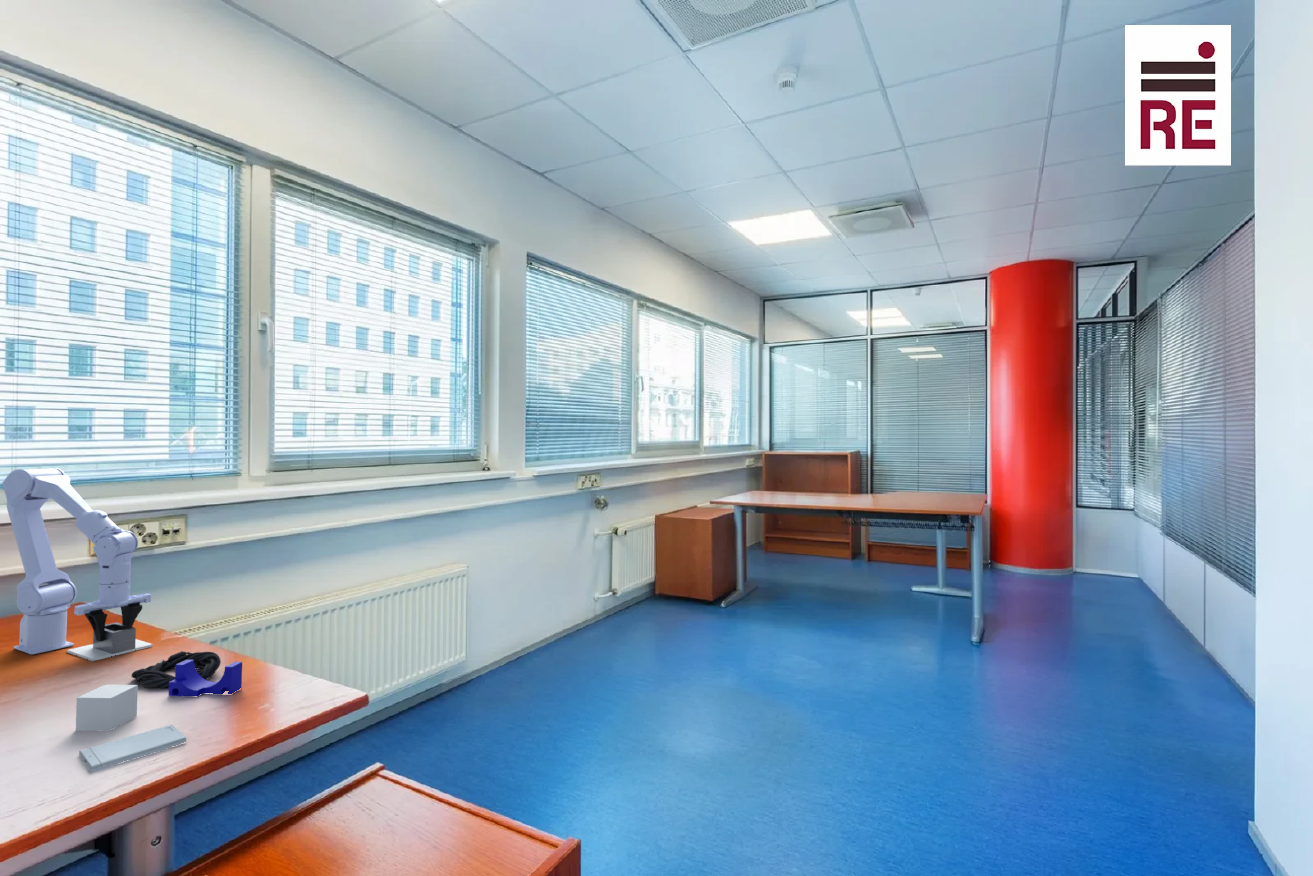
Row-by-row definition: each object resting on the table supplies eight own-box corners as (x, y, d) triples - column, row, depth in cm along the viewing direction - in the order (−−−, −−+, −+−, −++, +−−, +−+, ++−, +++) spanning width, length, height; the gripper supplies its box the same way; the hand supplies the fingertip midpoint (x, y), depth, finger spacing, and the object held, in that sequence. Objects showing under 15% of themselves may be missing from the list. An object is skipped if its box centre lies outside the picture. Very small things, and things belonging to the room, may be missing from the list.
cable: (231, 678, 137) (232, 658, 137) (153, 699, 125) (154, 677, 125) (198, 661, 146) (198, 642, 146) (123, 679, 135) (123, 659, 135)
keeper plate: (66, 652, 149) (67, 637, 149) (126, 638, 160) (127, 624, 160) (92, 661, 144) (92, 645, 144) (152, 646, 155) (152, 632, 155)
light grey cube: (109, 731, 111) (110, 698, 111) (75, 731, 111) (76, 697, 111) (136, 716, 117) (137, 684, 117) (104, 716, 117) (105, 684, 117)
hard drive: (171, 723, 112) (79, 749, 102) (186, 736, 107) (91, 765, 97) (171, 732, 112) (78, 759, 102) (186, 746, 107) (91, 776, 97)
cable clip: (168, 696, 126) (169, 667, 126) (186, 688, 131) (187, 659, 131) (225, 699, 126) (226, 669, 126) (241, 690, 130) (242, 661, 130)
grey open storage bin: (92, 647, 151) (93, 627, 151) (115, 642, 155) (116, 622, 155) (112, 654, 147) (112, 633, 147) (135, 648, 151) (135, 628, 151)
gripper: (85, 590, 143) (83, 649, 143) (158, 578, 156) (156, 632, 156) (70, 586, 146) (68, 644, 146) (143, 575, 159) (141, 628, 159)
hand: (113, 637), depth 151 cm, fingers closed on grey open storage bin, 5 cm apart
